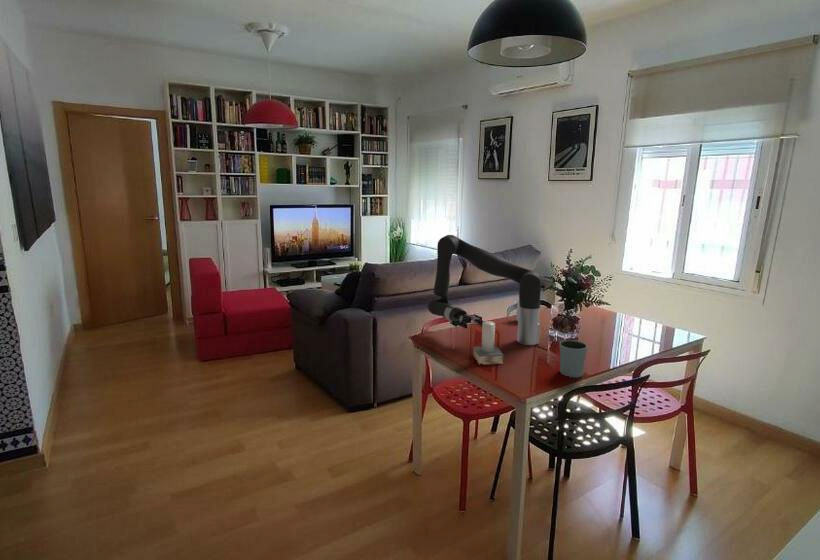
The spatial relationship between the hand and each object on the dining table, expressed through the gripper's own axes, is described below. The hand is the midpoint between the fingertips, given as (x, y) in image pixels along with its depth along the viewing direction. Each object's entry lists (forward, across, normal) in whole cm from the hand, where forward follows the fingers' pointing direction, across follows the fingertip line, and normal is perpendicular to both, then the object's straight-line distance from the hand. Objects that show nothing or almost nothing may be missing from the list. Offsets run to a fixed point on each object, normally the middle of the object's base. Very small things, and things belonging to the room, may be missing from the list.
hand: (475, 325), depth 197 cm
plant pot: (+35, +22, +12) cm, 43 cm away
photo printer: (-24, +49, +12) cm, 56 cm away
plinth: (+10, 0, +12) cm, 16 cm away
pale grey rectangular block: (+10, 0, +8) cm, 13 cm away
